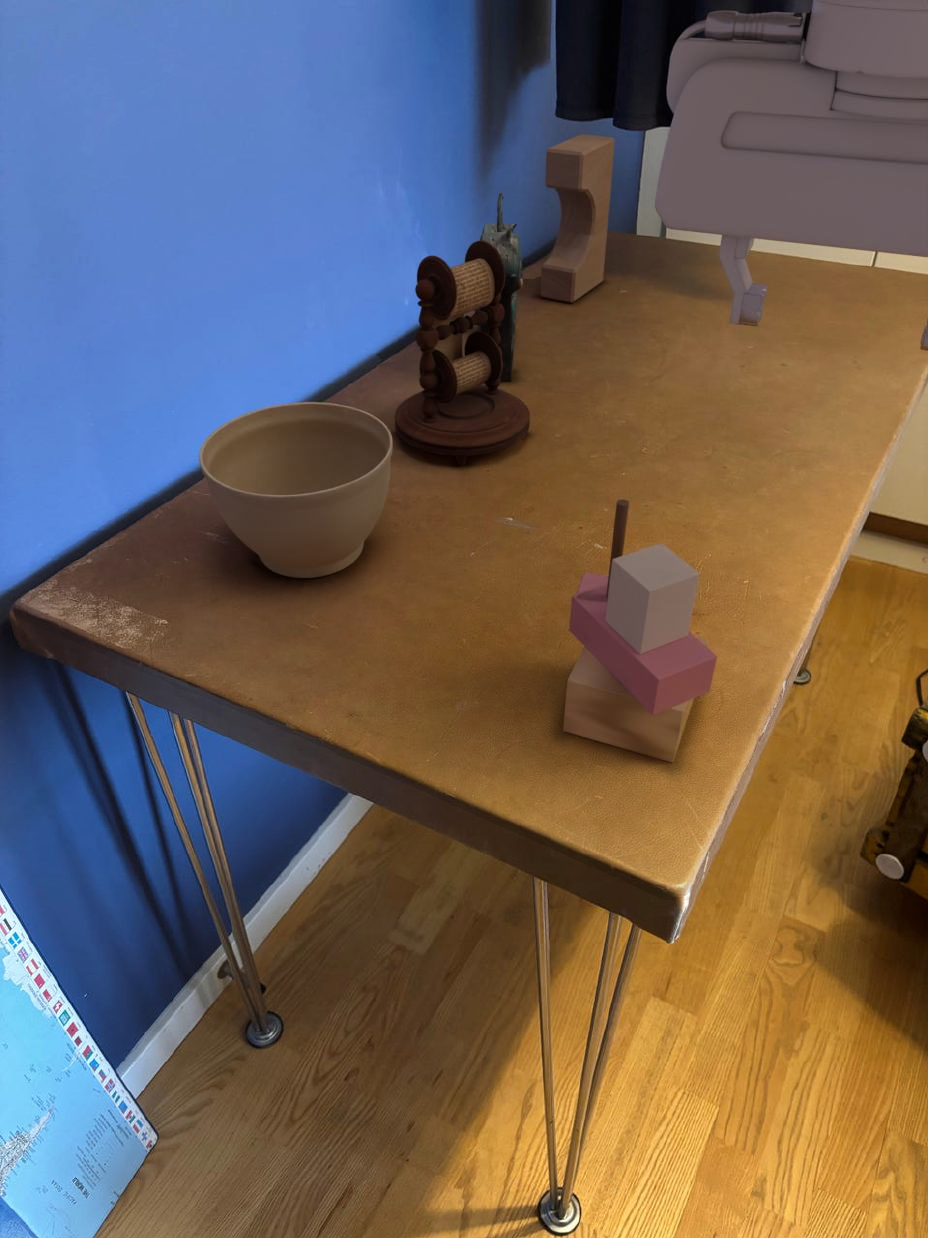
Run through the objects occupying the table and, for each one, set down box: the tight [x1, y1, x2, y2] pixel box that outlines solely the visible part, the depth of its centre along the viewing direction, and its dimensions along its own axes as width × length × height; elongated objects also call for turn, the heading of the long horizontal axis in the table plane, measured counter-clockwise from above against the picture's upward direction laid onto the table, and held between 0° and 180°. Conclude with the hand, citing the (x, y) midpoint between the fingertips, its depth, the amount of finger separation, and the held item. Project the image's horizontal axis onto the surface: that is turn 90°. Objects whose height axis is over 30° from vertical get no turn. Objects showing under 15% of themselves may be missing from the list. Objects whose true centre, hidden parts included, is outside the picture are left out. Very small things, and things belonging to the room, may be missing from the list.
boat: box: [568, 499, 718, 715], centre depth 61 cm, size 12×5×11 cm, turn 28°
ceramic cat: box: [472, 192, 524, 382], centre depth 112 cm, size 20×6×20 cm, turn 179°
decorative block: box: [539, 133, 616, 304], centre depth 131 cm, size 11×6×20 cm, turn 148°
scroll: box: [394, 239, 531, 466], centre depth 95 cm, size 15×15×20 cm
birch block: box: [562, 636, 708, 763], centre depth 66 cm, size 8×8×5 cm
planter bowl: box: [198, 401, 394, 579], centre depth 80 cm, size 16×16×11 cm
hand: (837, 334), depth 47 cm, fingers open, 8 cm apart
